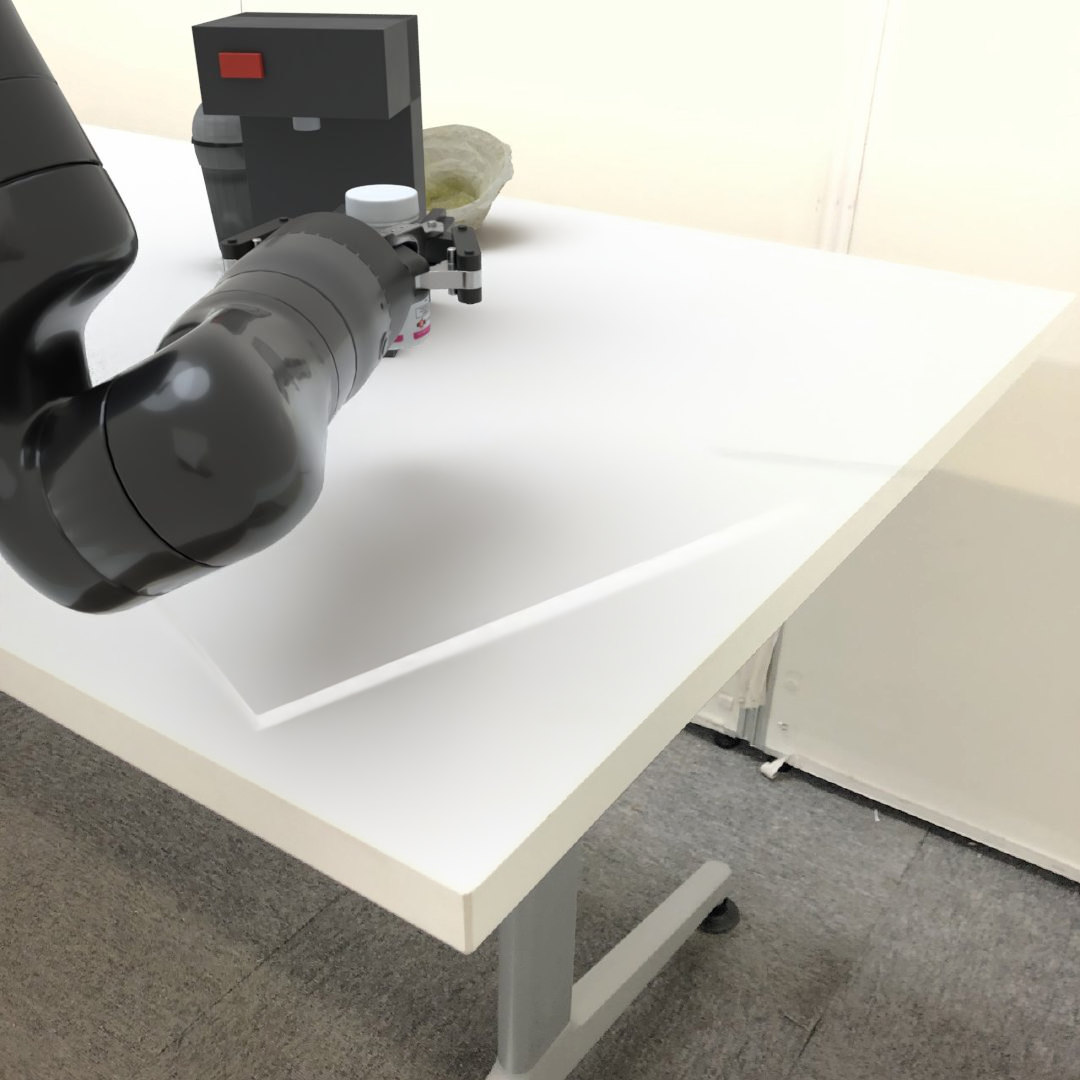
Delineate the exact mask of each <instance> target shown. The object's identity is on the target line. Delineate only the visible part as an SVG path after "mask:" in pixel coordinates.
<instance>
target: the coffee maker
mask: <svg viewBox="0 0 1080 1080" xmlns="http://www.w3.org/2000/svg"><path fill="white" fill-rule="evenodd" d="M418 18H419V17H418V15H417V14H393V13H392V14H391V13H390V14H389V13H340V12H339V13H332V12H331V13H330V12H273V11H272V12H271V11H270V12H268V11H244V12H240V13H236V14H232V15H227V16H225V17H221V18H217V19H213V20H209V21H205V22H201V23H198V24H194V25H191V34H192V41H193V49H194V55H195V62H196V69H197V78H198V85H199V92H200V99H201V103H202V107H203V114H204V115H228V116H239V118H240V126H241V134H242V142H243V150H244V158H245V166H246V174H247V183H248V191H249V199H250V207H251V215H252V223H253V228H255V227H257V226H259V225H262V224H264V223H267V222H269V221H272V220H274V219H278V218H279V217H288V218H292V219H294V218H296V217H299V216H301V215H305V214H309V213H314V212H333V211H334V210H335V209H337V208H338V207H339V206H340V205H341V204H346V201H345V194H346V192H347V191H348V190H350V189H353V188H356V187H361V186H368V185H400V186H406V187H410V188H413V189H415V190H416V191H417V193H418V204H419V214H418V215H419V218H418V219H417V220H416V221H415V222H416V223H418V224H421V222H422V220H423V219H424V218H425V217H426V216H427V213H426V191H425V169H424V148H423V129H424V128H423V108H422V107H423V105H422V84H421V64H420V63H421V62H420V61H421V60H420V41H419V40H420V39H419V19H418ZM430 302H431V292H430V293H429V303H430ZM398 351H399V349H396V350H388V351H387V352H386V354H385V355H384V357H390V358H393V357H395V355H396V354H397V352H398Z"/></svg>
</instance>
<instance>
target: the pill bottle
mask: <svg viewBox="0 0 1080 1080" xmlns="http://www.w3.org/2000/svg"><path fill="white" fill-rule="evenodd" d="M345 201H346V214H347V215H348V216H351V217H354V218H356V219H358V220H360V221H362V222H364V223H366V224H367V225H369V226H370V227H372V228H373V229H375V230H378V231H381V230H383V229H386V228H388V227H391V226H393V225H396V224H398V223H408V224H415V225H419V224H418V223H416V222H415V221H416V220H417V219H418V218H419V215H418V214H419V204H418V193H417V191H416V190H415V189H413V188H410V187H406V186H400V185H368V186H361V187H356V188H353V189H350V190H348V191H347V192H346V194H345ZM431 326H432V325H431V305H430V302H429V295H428V296H427V298H426V299H424V300H423V301H421V302H418V303H415V304H413V305H411V307H410V310H409V313H408V316H407V318H406V321H405V323H404V325H403V328H402V329H401V331H400V333H399V335H398V336H397V338H396V339H395V341H394V342H393V343H392V345H391V346H390V348H389V349H388V350H396V349H398V350H403V349H404V350H405V349H407V348H413V347H417V346H419V345H422V344H423V343H424V342H426V341H427V340H428V339H429V338H430V336H431V330H432V328H431Z"/></svg>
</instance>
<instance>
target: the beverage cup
mask: <svg viewBox="0 0 1080 1080" xmlns="http://www.w3.org/2000/svg"><path fill="white" fill-rule="evenodd" d="M191 134H192V135H191V138H190V139H191V140H190V143H191V144H192V145H193V148H194V153H195V157H196V159H197V162H198V165H199V166H200V169H201V172H202V178H203V181H204V185H205V186H204V187H205V191H206V195H207V199H208V203H209V208H210V209H209V210H210V212H211V217H212V221H213V225H214V226H213V227H214V231H215V234H216V239H217V243H218V248H219V251H220V255H222V252H221V245H220V242H221V241H223V240H225V239H228V238H230V237H233V236H235V235H237V234H240V233H242V232H245V231H247V230H250V229H252V228H253V223H252V215H251V207H250V199H249V191H248V183H247V174H246V166H245V158H244V150H243V142H242V134H241V126H240V118H239V116H228V115H204V114H203V107H202V102H201V103H200V104H199V105H198V107H197V109H196V110H195V112H194V115H193V118H192V123H191Z"/></svg>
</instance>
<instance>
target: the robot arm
mask: <svg viewBox="0 0 1080 1080" xmlns="http://www.w3.org/2000/svg"><path fill="white" fill-rule="evenodd" d="M220 245H221V250H220V253H221V252H222V254H221V262H222V269H223V270H222V271H223V275H222V276H221V277H220V278H219V280H218V281H217V282H216V284H215V285H214V287H213V288H212V289H210V291H209V292H207V293H205V295H203V296H202V297H201V298H199V299H198V300H197V301H196V302H195V303H193V304H192V305H191V306H190V307H188V308H187V309H186V310H185V311H184V312H183V313H182V314H180V316H178V318H177V319H176V320H175V321H174V322H173V323H172V324H171V325H170V327H168V329H167V330H166V331H165V332H164V334H163V336H162V337H161V339H160V341H159V343H158V344H157V346H156V347H155V350H154V352H153V353H152V354H151V355H149V356H148V357H146V358H144V359H142V360H140V361H139V362H137V363H135V364H133V365H131V366H129V367H127V368H125V369H124V370H122V371H121V372H119V373H117V374H115V375H113V376H111V377H109V378H107V379H105V380H103V381H102V382H100V383H98V384H96V385H94V386H93V381H92V378H91V373H90V367H89V361H88V357H87V348H86V341H85V338H86V337H85V331H86V326H87V323H88V321H89V319H90V317H91V315H92V313H93V312H94V311H95V310H96V308H97V307H98V306H99V304H100V303H101V302H102V301H103V300H104V299H105V298H106V297H107V296H108V295H109V294H110V293H111V292H112V291H113V290H114V289H115V288H116V287H117V286H118V285H119V284H120V283H121V282H122V280H124V278H125V276H127V274H128V273H129V272H130V270H132V268H133V266H134V264H135V262H136V259H137V257H138V253H139V237H138V232H137V229H136V226H135V223H134V221H133V219H132V217H131V214H130V212H129V210H128V208H127V206H126V204H125V202H124V200H123V198H122V196H121V194H120V192H119V191H118V189H117V186H116V184H115V183H114V182H113V180H112V178H111V176H110V174H109V172H108V171H107V169H106V168H104V163H103V162H102V160H101V159H100V156H99V154H98V153H97V151H96V149H95V148H94V145H93V144H92V142H91V140H90V139H89V137H88V135H87V133H86V131H85V129H84V128H83V126H82V124H81V121H80V120H79V118H78V117H77V115H76V114H75V111H74V110H73V108H72V106H71V105H70V103H69V101H68V99H67V97H66V96H65V93H64V92H63V91H62V89H61V87H60V86H59V83H58V81H57V80H56V78H55V75H54V73H53V72H52V71H51V69H50V66H48V64H47V62H46V60H45V59H44V57H43V55H42V53H41V52H40V50H39V49H38V46H37V45H36V43H35V41H34V40H33V37H32V35H31V34H30V33H29V31H28V29H27V27H26V25H25V23H24V21H23V20H22V18H21V15H20V14H19V11H18V10H17V7H16V5H15V4H14V2H13V0H0V556H1V557H2V558H3V560H4V561H5V562H6V563H7V565H8V566H9V567H10V568H12V570H13V571H14V572H15V574H17V575H18V576H19V578H21V579H22V580H23V581H24V583H26V584H28V585H29V586H30V587H32V588H33V589H34V590H35V591H36V592H38V593H39V594H40V595H42V596H43V597H45V598H47V599H48V600H50V601H52V602H53V603H56V605H59V606H61V607H64V608H66V609H69V610H72V611H74V612H77V613H81V614H85V615H95V616H104V615H105V616H106V615H113V614H117V613H122V612H126V611H129V610H131V609H134V608H137V607H139V606H142V605H144V604H146V603H148V602H151V601H153V600H156V599H157V598H159V597H162V596H165V595H166V594H169V593H170V592H172V591H174V590H177V589H179V588H181V587H182V588H183V587H184V586H186V585H188V584H190V583H193V582H195V581H198V580H200V579H202V578H205V577H206V576H208V575H211V574H214V573H215V572H218V571H220V570H223V569H225V568H227V567H230V566H232V565H233V564H236V563H238V562H241V561H243V560H245V559H248V558H250V557H252V556H254V555H256V554H258V553H261V552H262V551H265V550H267V549H268V548H270V547H271V546H273V545H275V544H276V543H278V542H279V541H281V540H282V539H284V538H285V537H286V536H287V535H289V533H291V532H292V531H293V530H294V529H295V528H296V527H297V526H298V525H299V524H300V523H301V522H302V521H303V520H304V519H305V518H306V517H307V516H308V514H309V513H311V511H312V509H313V508H314V507H315V505H316V503H317V502H318V500H319V498H320V496H321V494H322V491H323V487H324V483H325V468H326V467H325V466H326V450H327V442H328V427H329V426H330V424H331V423H332V422H333V420H334V419H335V417H336V415H338V413H339V411H340V410H341V408H342V407H343V406H344V405H345V404H347V403H348V402H349V401H350V400H352V398H354V397H355V396H356V394H357V393H358V392H359V391H360V390H361V389H362V388H363V387H364V386H365V384H366V383H367V381H368V379H369V378H370V377H371V375H372V374H373V372H374V371H375V369H376V368H377V367H378V365H379V364H380V363H381V361H382V359H383V358H384V357H385V356H384V355H385V354H386V352H387V351H388V349H389V348H390V346H391V345H392V343H393V342H394V341H395V339H396V338H397V336H398V335H399V333H400V331H401V329H402V328H403V325H404V323H405V321H406V318H407V316H408V313H409V310H410V307H411V305H413V304H415V303H418V302H421V301H423V300H424V299H426V298H427V296H428V295H429V293H430V294H431V290H447V293H448V295H449V296H452V297H455V296H457V301H458V302H459V303H461V304H466V305H475V304H478V303H481V302H482V301H483V291H482V290H483V282H482V281H483V278H482V277H483V276H482V272H483V271H482V251H481V247H480V244H479V241H478V238H477V234H476V230H475V231H474V228H473V227H469V226H467V225H458V226H456V227H455V219H454V217H449V216H446V209H443V208H433V209H432V210H431V211H430V212H429V213H428V215H427V216H426V217H425V218H424V219H423V220H422V222H421V224H419V225H415V224H408V223H398V224H396V225H393V226H391V227H388V228H386V229H383V230H381V231H378V230H375V229H373V228H372V227H370V226H369V225H367V224H366V223H364V222H362V221H360V220H358V219H356V218H354V217H351V216H348V215H347V214H346V204H341V205H340V206H339V207H338V208H337V209H335V210H334V211H333V212H314V213H309V214H305V215H301V216H299V217H296V218H294V219H292V218H288V217H279V218H278V219H274V220H272V221H269V222H267V223H264V224H262V225H259V226H257V227H255V228H252V229H250V230H247V231H245V232H242V233H240V234H237V235H235V236H233V237H230V238H228V239H225V240H223V241H221V242H220Z"/></svg>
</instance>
